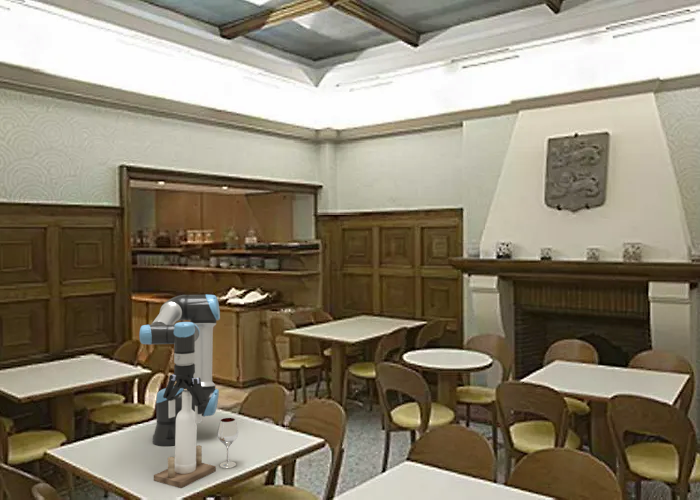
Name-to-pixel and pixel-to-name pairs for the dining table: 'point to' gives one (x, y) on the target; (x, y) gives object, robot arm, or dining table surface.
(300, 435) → the dining table surface
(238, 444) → the dining table surface
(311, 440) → the dining table surface
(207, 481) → the dining table surface
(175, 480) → the stand
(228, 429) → the wineglass
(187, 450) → the bottle
